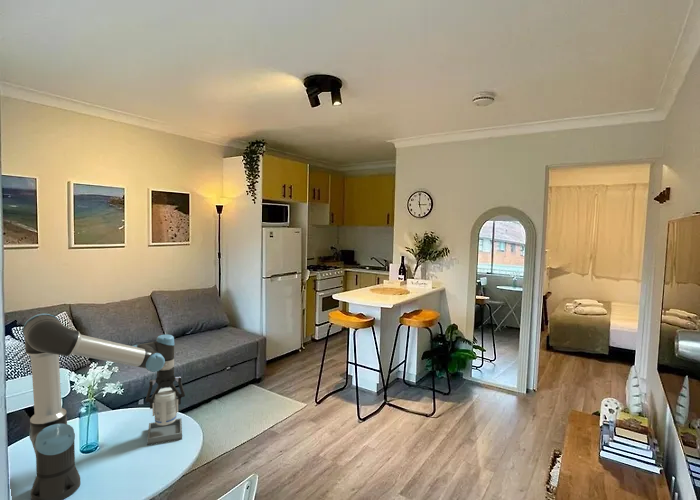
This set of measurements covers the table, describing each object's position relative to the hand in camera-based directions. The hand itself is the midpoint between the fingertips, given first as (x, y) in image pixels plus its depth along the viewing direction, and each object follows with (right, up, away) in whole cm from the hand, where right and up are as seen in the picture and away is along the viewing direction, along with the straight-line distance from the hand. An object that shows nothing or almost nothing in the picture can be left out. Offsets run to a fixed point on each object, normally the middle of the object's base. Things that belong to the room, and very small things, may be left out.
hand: (165, 412), depth 190 cm
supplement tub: (0, -4, 0) cm, 4 cm away
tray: (-1, -11, +1) cm, 11 cm away
